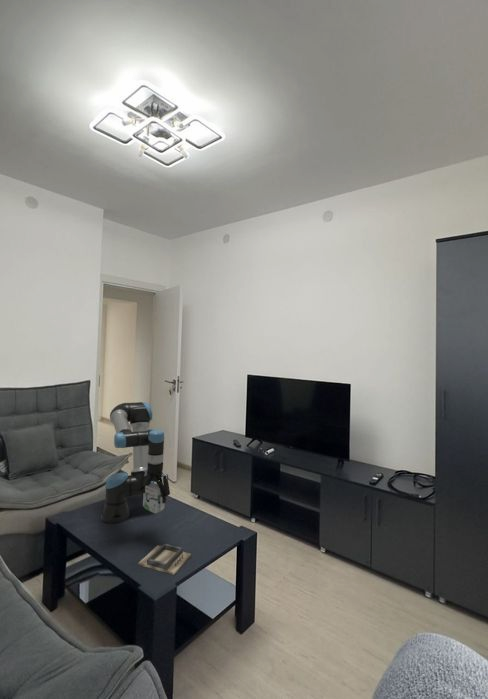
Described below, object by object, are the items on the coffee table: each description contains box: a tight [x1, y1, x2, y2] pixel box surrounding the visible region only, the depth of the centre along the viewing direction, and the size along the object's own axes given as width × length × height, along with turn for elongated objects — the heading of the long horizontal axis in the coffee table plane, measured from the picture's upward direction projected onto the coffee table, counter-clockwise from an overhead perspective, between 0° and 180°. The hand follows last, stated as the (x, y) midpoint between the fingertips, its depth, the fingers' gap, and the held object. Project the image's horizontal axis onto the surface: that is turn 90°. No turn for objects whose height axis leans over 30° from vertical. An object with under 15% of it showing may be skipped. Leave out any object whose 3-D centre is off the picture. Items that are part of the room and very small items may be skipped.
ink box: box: [144, 482, 163, 514], centre depth 172 cm, size 9×5×12 cm, turn 56°
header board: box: [138, 543, 192, 576], centre depth 157 cm, size 18×15×3 cm
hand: (153, 507), depth 172 cm, fingers closed on ink box, 9 cm apart
